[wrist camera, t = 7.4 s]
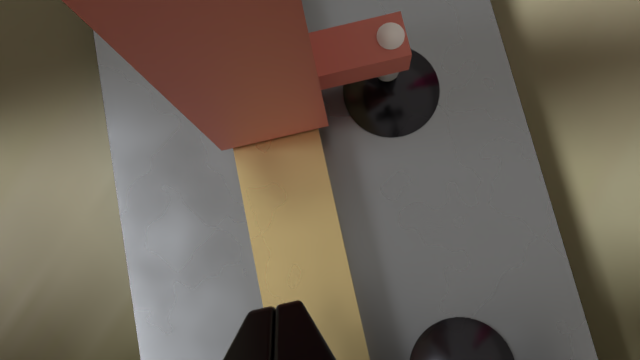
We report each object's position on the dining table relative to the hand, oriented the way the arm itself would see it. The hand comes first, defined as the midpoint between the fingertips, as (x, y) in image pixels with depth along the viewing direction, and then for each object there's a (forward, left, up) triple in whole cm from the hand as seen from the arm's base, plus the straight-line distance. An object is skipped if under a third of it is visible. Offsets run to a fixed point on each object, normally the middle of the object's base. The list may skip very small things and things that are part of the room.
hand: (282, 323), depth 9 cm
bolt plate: (+7, +3, -8) cm, 11 cm away
